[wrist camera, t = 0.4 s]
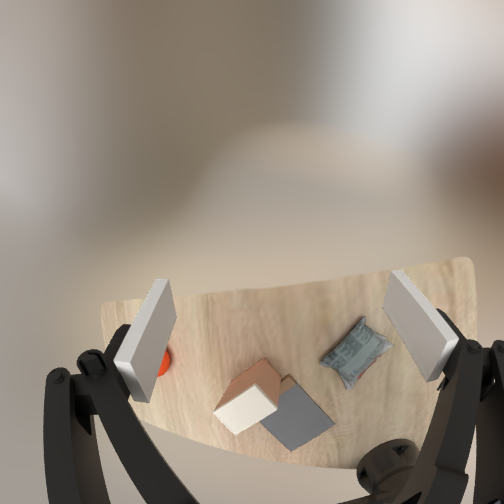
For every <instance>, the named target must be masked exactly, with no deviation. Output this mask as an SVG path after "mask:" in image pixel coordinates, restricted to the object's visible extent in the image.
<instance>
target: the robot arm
mask: <svg viewBox="0 0 504 504" xmlns="http://www.w3.org/2000/svg"><path fill="white" fill-rule="evenodd" d="M382 308H383V310H384V311H385V313H386V314H387V316H388V318H389V319H390V321H391V322H392V324H393V326H394V327H395V329H396V331H397V332H398V334H399V336H400V337H401V339H402V341H403V342H404V344H405V346H406V347H407V349H408V351H409V352H410V354H411V356H412V358H413V359H414V361H415V363H416V365H417V366H418V368H419V370H420V372H421V374H422V375H423V377H424V379H425V381H426V382H430V381H433V380H436V379H438V378H439V376H440V374H441V372H442V371H443V372H444V374H445V377H444V379H443V380H442V382H441V384H440V385H439V387H438V389H437V390H438V391H439V389H440V388H441V389H440V393H439V397H438V400H437V404H436V407H435V411H434V414H433V417H432V420H431V423H430V426H429V429H428V432H427V435H426V437H425V440H424V443H423V445H422V448H421V451H419V449H418V448H417V446H416V445H415V444H414V443H413V442H412V441H409V440H405V439H398V440H392V441H389V442H386V443H384V444H381V445H379V446H378V447H376V448H374V449H373V450H372V451H370V452H369V453H368V454H367V455H366V456H365V457H364V458H363V459H362V460H361V462H360V463H359V465H358V468H357V478H358V481H359V484H360V485H361V486H362V487H363V488H364V489H365V490H366V491H367V492H368V493H369V494H370V495H369V496H365V497H362V498H358V499H354V500H351V501H347V502H343V503H338V504H460V503H461V501H462V498H463V495H464V492H465V489H466V486H467V483H468V479H469V478H468V474H465V467H466V464H467V460H468V456H469V452H470V448H471V444H472V440H473V435H474V430H475V425H476V440H477V442H476V444H477V450H476V475H475V487H474V497H473V504H504V341H501V340H496V341H494V343H493V345H492V347H491V348H482V346H481V345H480V344H479V343H478V342H477V341H475V340H471V339H468V340H467V339H466V338H465V337H464V336H463V334H462V333H461V332H460V331H459V329H458V328H457V327H456V326H455V325H454V323H453V322H452V321H451V320H450V318H449V317H448V316H447V315H446V313H444V312H443V311H441V310H440V309H435V308H434V307H433V305H432V304H431V303H430V302H429V301H428V299H427V298H426V297H425V296H424V295H423V294H422V292H421V291H420V290H419V289H418V288H417V287H416V286H415V285H414V283H413V282H412V281H411V280H410V279H409V278H408V277H407V276H406V275H405V273H404V272H403V271H402V270H393V271H391V273H390V278H389V282H388V287H387V291H386V295H385V300H384V304H383V307H382ZM176 318H177V316H176V311H175V307H174V302H173V297H172V293H171V287H170V282H169V279H156V280H155V282H154V284H153V286H152V288H151V289H150V291H149V293H148V295H147V297H146V298H145V300H144V302H143V304H142V306H141V308H140V310H139V311H138V313H137V315H136V317H135V319H134V321H133V323H132V325H129V324H123V325H122V326H121V327H120V328H118V329H117V330H116V332H115V334H114V336H113V339H111V341H110V344H109V345H108V346H107V348H106V350H105V353H104V354H103V353H102V352H101V351H99V350H97V349H91V350H87V351H85V352H83V353H82V354H81V355H80V356H79V357H78V360H77V366H78V368H79V370H80V372H81V373H82V374H75V375H71V374H70V373H69V371H68V370H67V369H65V368H56V369H54V370H52V371H51V372H50V373H49V374H48V375H47V379H46V387H45V399H44V426H43V430H44V431H43V435H44V436H43V438H44V439H43V440H44V463H45V474H46V475H45V476H46V485H47V493H48V500H49V504H111V503H110V500H109V496H108V492H107V488H106V485H105V480H104V476H103V471H102V467H101V462H100V456H99V451H98V445H97V439H96V432H95V424H94V416H93V415H99V417H100V419H101V422H102V424H103V426H104V428H105V431H106V433H107V435H108V437H109V439H110V441H111V443H112V445H113V447H114V449H115V451H116V453H117V454H118V456H119V459H120V460H121V462H122V464H123V466H124V467H125V469H126V471H127V473H128V474H129V476H130V478H131V480H132V481H133V483H134V485H135V486H136V488H137V489H138V491H139V493H140V494H141V496H142V497H143V499H144V500H145V502H146V503H147V504H200V503H199V502H198V501H197V500H196V499H195V498H194V496H193V495H192V494H191V493H190V492H189V490H188V489H187V488H186V487H185V485H184V484H183V483H182V482H181V480H180V479H179V478H178V477H177V475H176V474H175V473H174V471H173V470H172V469H171V467H170V466H169V465H168V463H167V462H166V461H165V459H164V458H163V456H162V455H161V453H160V452H159V451H158V449H157V447H156V446H155V445H154V443H153V442H152V440H151V438H150V437H149V435H148V434H147V432H146V431H145V429H144V427H143V426H142V424H141V423H140V421H139V419H138V417H137V416H136V414H135V412H134V411H133V409H132V407H131V405H130V403H129V402H128V398H129V396H130V394H131V396H132V398H133V400H134V401H139V402H146V403H149V402H150V398H151V395H152V392H153V388H154V385H155V382H156V379H157V375H158V372H159V369H160V366H161V363H162V360H163V357H164V354H165V350H166V347H167V344H168V341H169V338H170V335H171V332H172V330H173V327H174V324H175V321H176ZM494 379H495V384H494Z"/></svg>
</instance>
